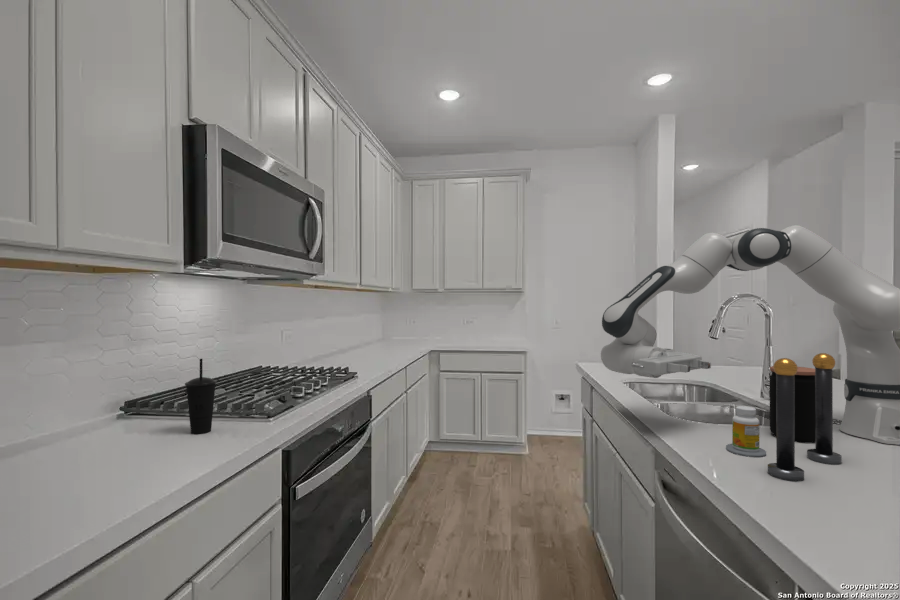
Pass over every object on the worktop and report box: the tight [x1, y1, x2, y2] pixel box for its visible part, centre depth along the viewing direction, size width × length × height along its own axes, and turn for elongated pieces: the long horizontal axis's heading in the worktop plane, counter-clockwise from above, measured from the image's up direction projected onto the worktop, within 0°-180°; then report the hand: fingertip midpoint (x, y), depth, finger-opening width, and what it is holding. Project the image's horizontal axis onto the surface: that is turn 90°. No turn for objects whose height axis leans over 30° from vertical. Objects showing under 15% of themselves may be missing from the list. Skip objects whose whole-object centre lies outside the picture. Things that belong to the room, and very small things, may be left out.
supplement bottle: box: [731, 405, 760, 452], centre depth 108 cm, size 5×5×10 cm
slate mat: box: [725, 443, 767, 458], centre depth 108 cm, size 8×8×1 cm
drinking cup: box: [184, 358, 217, 435], centre depth 124 cm, size 8×8×20 cm
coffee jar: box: [769, 365, 815, 443], centre depth 119 cm, size 11×11×18 cm
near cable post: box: [767, 357, 805, 482], centre depth 93 cm, size 6×6×24 cm
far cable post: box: [806, 352, 843, 466], centre depth 102 cm, size 6×6×24 cm
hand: (699, 367), depth 118 cm, fingers open, 8 cm apart
